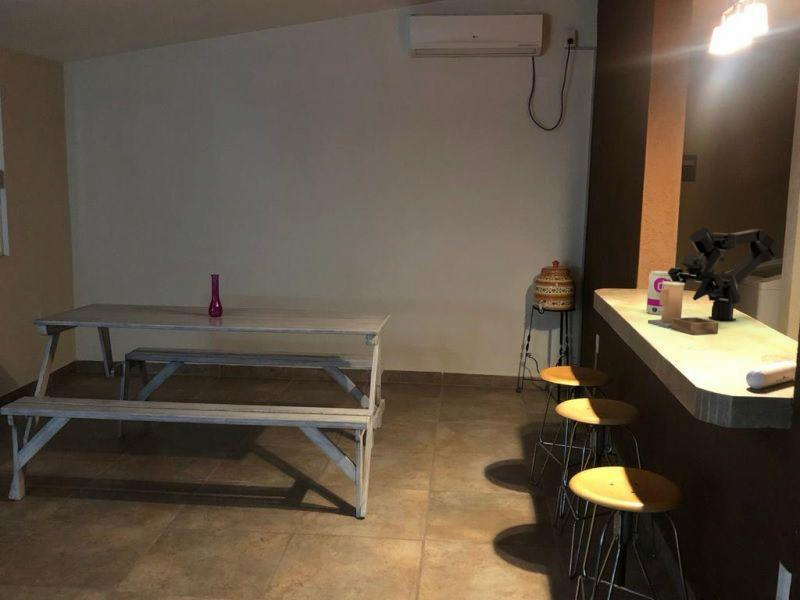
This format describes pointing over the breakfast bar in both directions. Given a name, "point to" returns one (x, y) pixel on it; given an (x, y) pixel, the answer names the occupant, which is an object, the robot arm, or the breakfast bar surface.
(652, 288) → the supplement can
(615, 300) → the breakfast bar surface
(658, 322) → the tile
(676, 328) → the frame
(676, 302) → the peach plastic cup
